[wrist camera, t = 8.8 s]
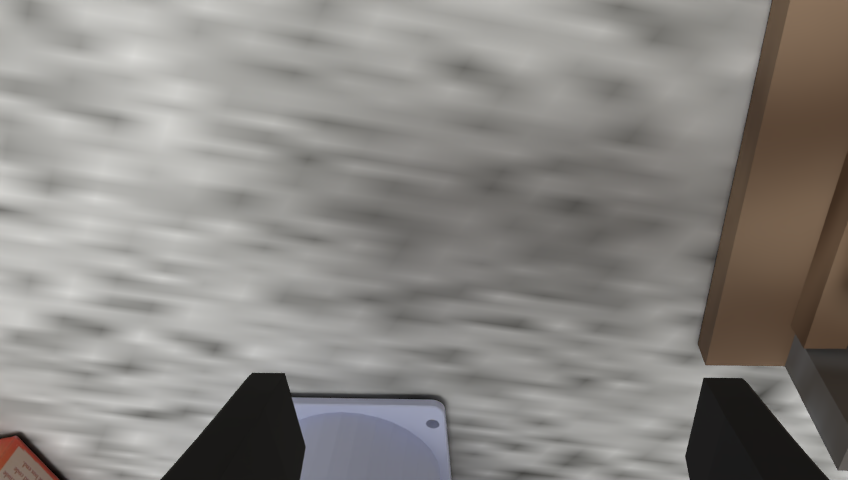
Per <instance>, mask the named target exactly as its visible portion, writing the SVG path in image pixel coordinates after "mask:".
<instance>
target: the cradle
mask: <svg viewBox="0 0 848 480" xmlns="http://www.w3.org/2000/svg"><path fill="white" fill-rule="evenodd" d="M698 346H699V349H700V351H701V354H702V357H703V360H704V362H705V365H741V366H785V367H786V369H787V371H788V373H789V375H790V377H791V379H792V381H793V383H794V385H795V387H796V389H797V391H798V393H799V395H800V397H801V399H802V401H803V403H804V405H805V407H806V409H807V411H808V413H809V415H810V417H811V419H812V420H813V422H814V424H815V426H816V428H817V430H818V432H819V434H820V436H821V438H822V440H823V442H824V444H825V446H826V448H827V450H828V452H829V454H830V456H831V458H832V460H833V462H834V464H835V466H836V468H837V470H845V471H848V0H772V5H771V10H770V14H769V19H768V24H767V28H766V33H765V37H764V42H763V47H762V51H761V56H760V60H759V65H758V70H757V74H756V79H755V83H754V88H753V93H752V97H751V102H750V106H749V111H748V116H747V120H746V125H745V129H744V134H743V139H742V143H741V148H740V152H739V157H738V162H737V166H736V171H735V175H734V180H733V185H732V189H731V194H730V198H729V203H728V208H727V212H726V217H725V222H724V226H723V231H722V235H721V240H720V245H719V249H718V254H717V258H716V263H715V268H714V272H713V277H712V281H711V286H710V291H709V295H708V300H707V304H706V309H705V314H704V318H703V323H702V327H701V332H700V337H699V341H698Z"/></svg>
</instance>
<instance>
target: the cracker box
mask: <svg viewBox="0 0 848 480" xmlns="http://www.w3.org/2000/svg"><path fill="white" fill-rule="evenodd" d="M0 480H59V478H58V477H57V476H56V475H54V474H53V473H52V472H51V471H50V469H49V468H48V467H47V466H46V465H45V464H44V463H43V462H42V461H41V460H40V459H39V458H38V457H37V456H36V455H35V454H34V453H33V452H32V451H31V450H30V449H29V448H28V447H27V446H26V445H25V444H24V442H23V441H22V440H21V439H20V438H19V437H18V436H13V437H7V438H2V439H0Z"/></svg>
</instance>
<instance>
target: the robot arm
mask: <svg viewBox="0 0 848 480" xmlns="http://www.w3.org/2000/svg"><path fill="white" fill-rule="evenodd" d="M685 457H686V462H687V468H688V473H689V478H690V480H829V479H828V478H827V477H826V475H825V474H824V473H823V472H822V471H821V470H820V469H819V468H818V467H817V465H816V464H815V463H814V462H813V461H812V460H811V459H810V457H809V456H808V455H807V454H806V453H805V452H804V450H803V449H802V448H801V447H800V446H799V445H798V443H797V442H796V441H795V440H794V439H793V438H792V436H791V435H790V434H789V433H788V432H787V430H786V429H785V428H784V427H783V426H782V424H781V423H780V422H779V421H778V420H777V418H776V417H775V416H774V415H773V414H772V412H771V411H770V410H769V409H768V407H767V406H766V405H765V404H764V403H763V401H762V400H761V399H760V398H759V396H758V395H757V394H756V393H755V392H754V390H753V389H752V388H751V387H750V385H749V384H748V383H747V382H746V381H745V380H744V379H743V378H704V379H703V383H702V387H701V392H700V396H699V400H698V404H697V409H696V413H695V417H694V422H693V426H692V430H691V434H690V439H689V443H688V447H687V452H686V456H685ZM161 480H452V477H451V466H450V456H449V445H448V434H447V423H446V412H445V407H444V405H443V404H442V403H441V402H439V401H437V400H428V399H364V398H300V397H291V393H290V390H289V386H288V383H287V380H286V376H285V373H252V374H251V375H250V376H249V377H248V378H247V379H246V380H245V381H244V383H243V384H242V385H241V386H240V387H239V389H238V390H237V391H236V392H235V393H234V395H233V396H232V397H231V398H230V399H229V401H228V402H227V403H226V404H225V405H224V407H223V408H222V409H221V410H220V412H219V413H218V414H217V415H216V416H215V418H214V419H213V420H212V421H211V422H210V423H209V425H208V426H207V427H206V428H205V429H204V431H203V432H202V433H201V434H200V435H199V437H198V438H197V439H196V440H195V441H194V442H193V443H192V445H191V446H190V447H189V448H188V449H187V450H186V451H185V453H184V454H183V455H182V456H181V457H180V458H179V459H178V461H177V462H176V463H175V464H174V465H173V466H172V467H171V469H170V470H169V471H168V472H167V473H166V474H165V475H164V476H163V477H162V479H161Z"/></svg>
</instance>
